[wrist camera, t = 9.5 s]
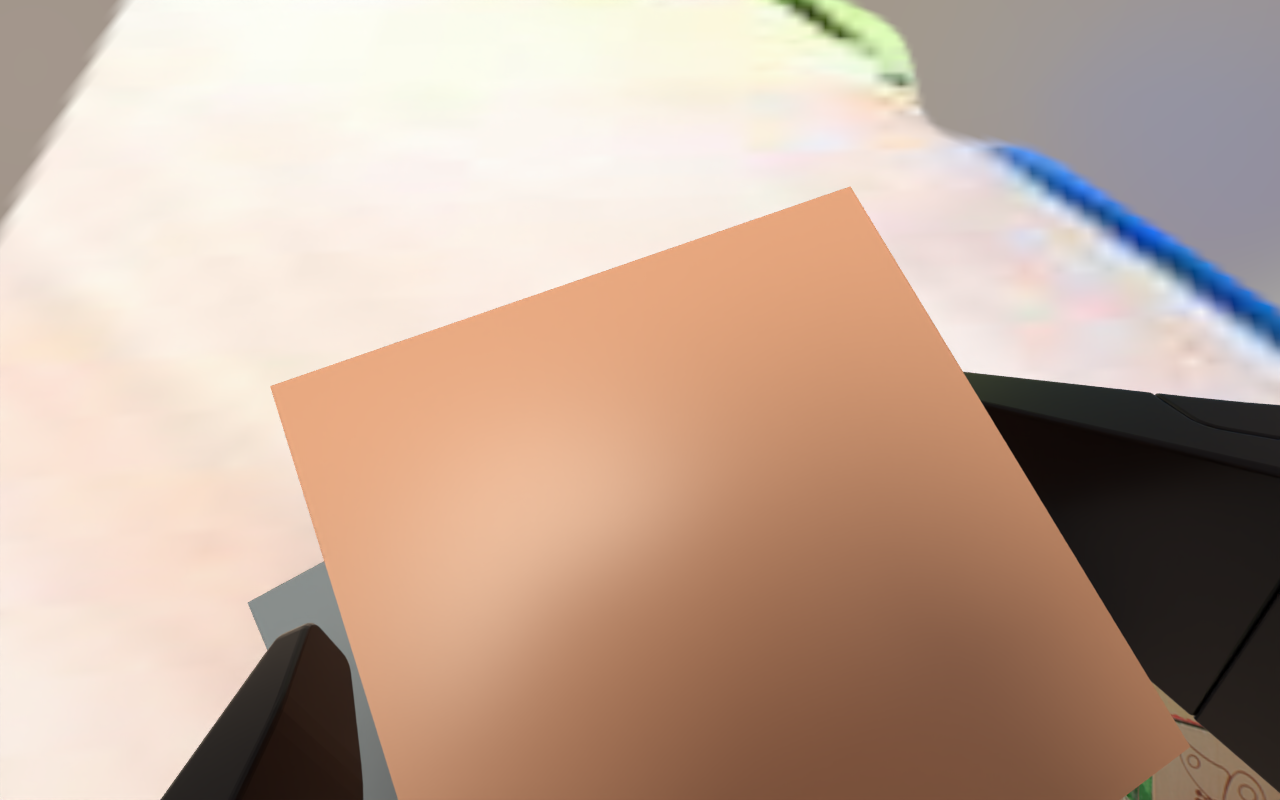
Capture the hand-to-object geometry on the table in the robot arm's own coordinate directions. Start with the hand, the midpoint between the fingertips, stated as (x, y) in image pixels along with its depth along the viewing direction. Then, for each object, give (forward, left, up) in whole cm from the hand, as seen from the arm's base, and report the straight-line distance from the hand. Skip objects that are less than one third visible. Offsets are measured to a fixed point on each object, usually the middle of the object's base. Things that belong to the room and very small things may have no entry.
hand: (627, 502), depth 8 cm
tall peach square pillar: (-1, 0, -8) cm, 8 cm away
